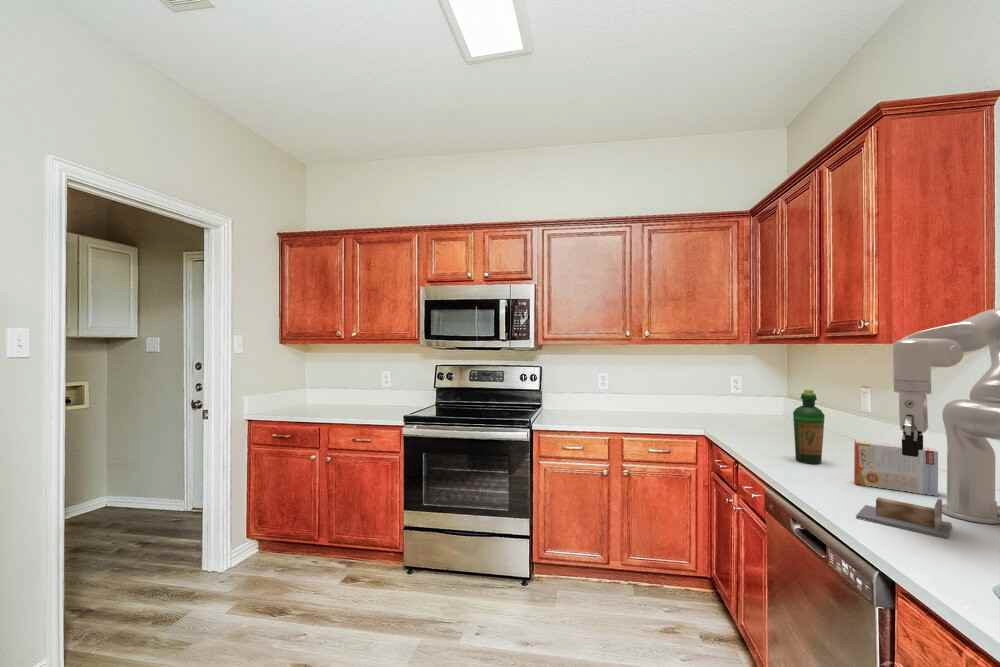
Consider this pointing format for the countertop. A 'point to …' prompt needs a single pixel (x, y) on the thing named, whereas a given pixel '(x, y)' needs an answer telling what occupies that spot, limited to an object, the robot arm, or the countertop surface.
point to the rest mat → (903, 523)
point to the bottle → (808, 430)
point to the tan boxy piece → (911, 512)
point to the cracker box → (895, 468)
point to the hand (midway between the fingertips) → (912, 452)
